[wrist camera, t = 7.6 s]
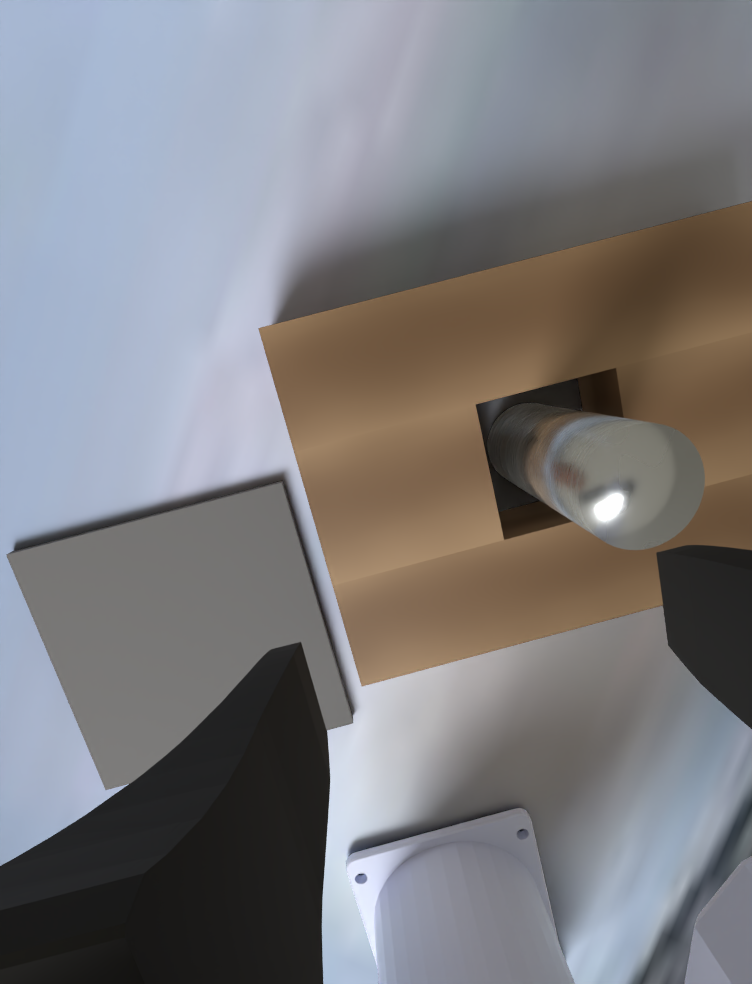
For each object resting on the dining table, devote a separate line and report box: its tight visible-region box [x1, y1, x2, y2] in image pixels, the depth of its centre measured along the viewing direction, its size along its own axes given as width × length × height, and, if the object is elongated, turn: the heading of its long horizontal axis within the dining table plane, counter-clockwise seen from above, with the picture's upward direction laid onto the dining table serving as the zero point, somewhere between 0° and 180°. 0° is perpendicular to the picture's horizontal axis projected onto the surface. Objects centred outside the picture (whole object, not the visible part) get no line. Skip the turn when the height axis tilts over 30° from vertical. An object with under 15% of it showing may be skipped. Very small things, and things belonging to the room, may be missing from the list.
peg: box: [487, 403, 705, 550], centre depth 17 cm, size 3×3×8 cm
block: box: [259, 201, 752, 686], centre depth 19 cm, size 12×16×3 cm
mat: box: [7, 481, 353, 790], centre depth 21 cm, size 10×10×1 cm
